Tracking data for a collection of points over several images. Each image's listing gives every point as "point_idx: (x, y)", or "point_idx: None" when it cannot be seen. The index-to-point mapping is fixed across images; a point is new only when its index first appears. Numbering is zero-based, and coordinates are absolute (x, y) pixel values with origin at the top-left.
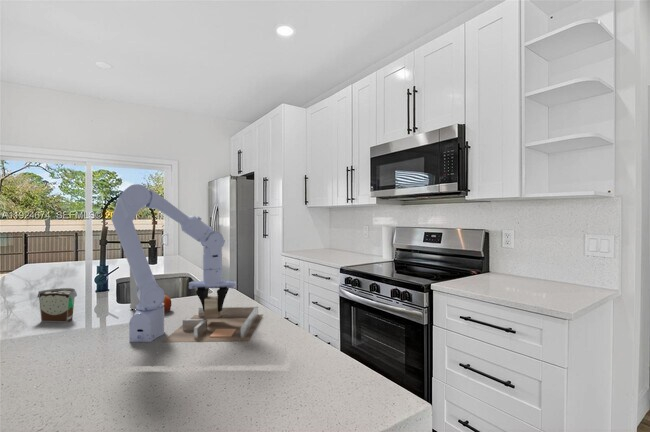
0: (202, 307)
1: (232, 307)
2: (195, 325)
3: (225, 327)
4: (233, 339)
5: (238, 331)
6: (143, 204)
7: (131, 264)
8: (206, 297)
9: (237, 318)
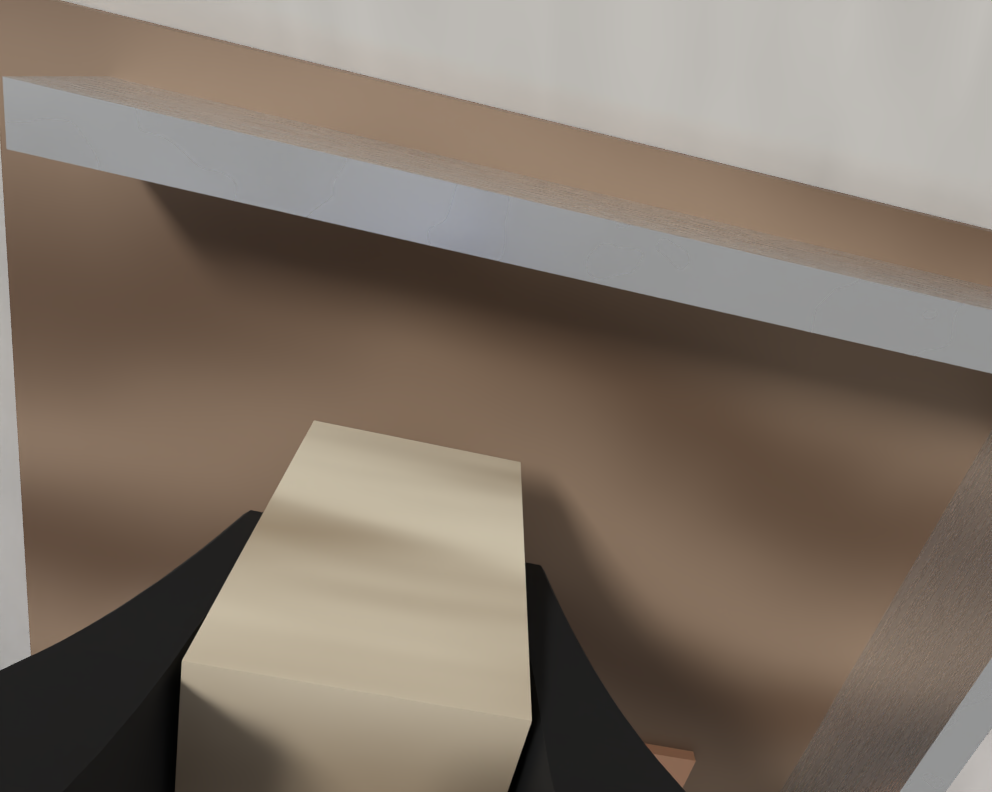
0: (88, 131)
1: (744, 301)
2: None
3: None
4: None
5: (709, 789)
6: None
7: None
8: (166, 744)
9: (759, 392)
